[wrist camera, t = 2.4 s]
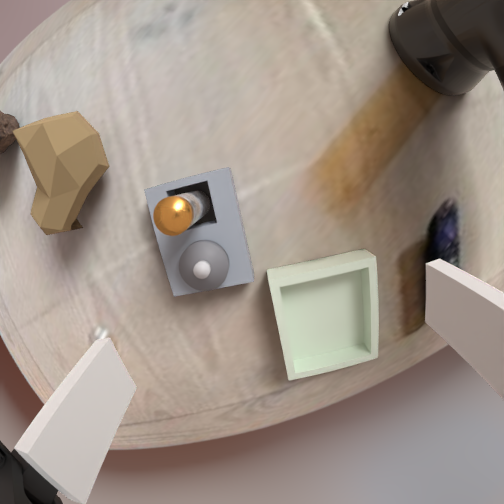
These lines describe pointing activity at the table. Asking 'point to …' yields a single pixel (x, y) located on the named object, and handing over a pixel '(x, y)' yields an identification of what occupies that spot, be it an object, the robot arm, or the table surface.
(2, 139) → the rock
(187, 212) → the lock pin
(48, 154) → the low-poly potato
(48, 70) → the table surface
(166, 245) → the block
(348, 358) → the tray
